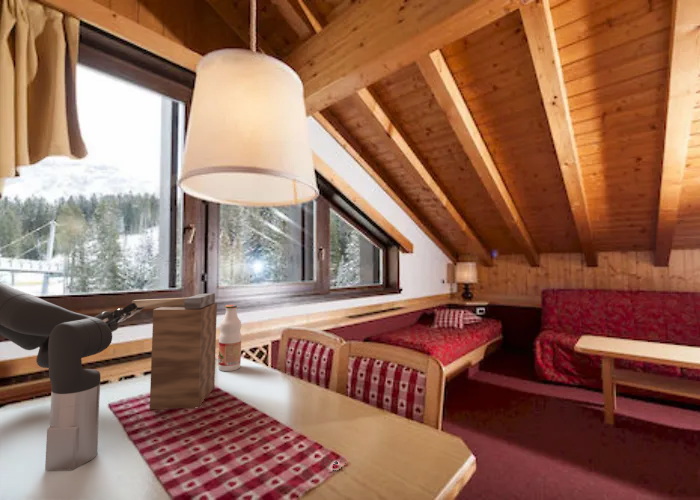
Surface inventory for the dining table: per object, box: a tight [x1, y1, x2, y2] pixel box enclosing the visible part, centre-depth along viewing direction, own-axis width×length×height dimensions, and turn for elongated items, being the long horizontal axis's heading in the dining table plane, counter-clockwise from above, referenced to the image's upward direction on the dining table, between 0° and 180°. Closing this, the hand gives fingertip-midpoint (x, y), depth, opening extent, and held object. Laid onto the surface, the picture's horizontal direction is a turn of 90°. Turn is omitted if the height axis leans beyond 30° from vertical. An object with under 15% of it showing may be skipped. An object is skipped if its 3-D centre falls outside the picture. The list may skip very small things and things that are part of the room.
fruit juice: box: [217, 304, 242, 372], centre depth 152 cm, size 9×9×28 cm
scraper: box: [131, 292, 216, 309], centre depth 119 cm, size 16×25×4 cm, turn 95°
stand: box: [149, 302, 218, 410], centre depth 119 cm, size 18×15×32 cm
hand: (142, 303), depth 118 cm, fingers open, 8 cm apart
